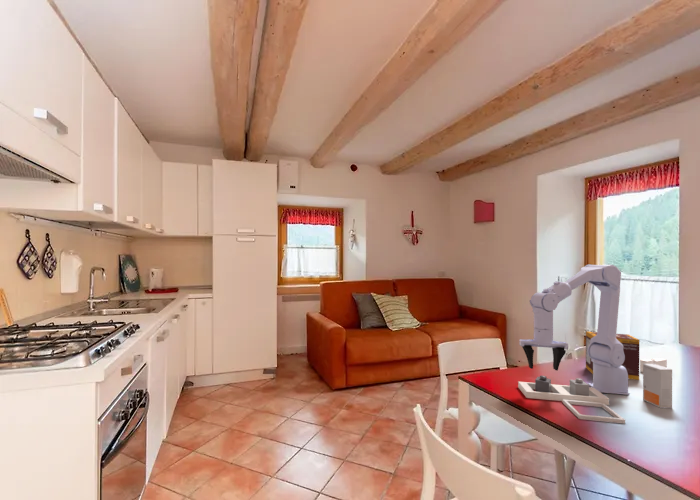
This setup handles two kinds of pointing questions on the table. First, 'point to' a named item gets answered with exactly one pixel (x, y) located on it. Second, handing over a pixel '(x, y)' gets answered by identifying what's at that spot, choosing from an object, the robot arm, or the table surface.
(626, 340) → the supplement box
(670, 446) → the table surface
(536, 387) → the plug
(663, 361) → the napkin holder
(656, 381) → the skincare box
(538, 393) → the twin square frames
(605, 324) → the robot arm
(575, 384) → the twin plug
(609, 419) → the white square frame
